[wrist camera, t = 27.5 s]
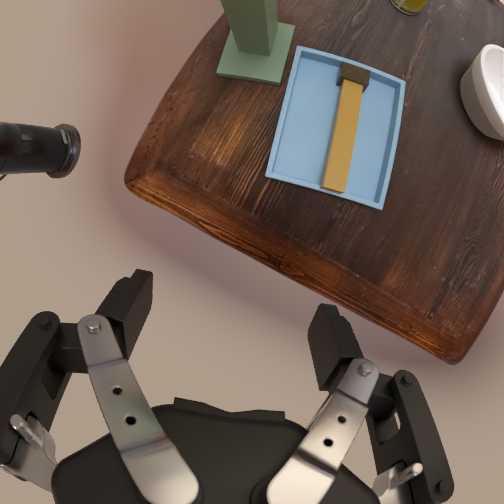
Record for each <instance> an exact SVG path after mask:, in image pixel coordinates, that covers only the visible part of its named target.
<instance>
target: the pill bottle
mask: <svg viewBox="0 0 504 504" xmlns="http://www.w3.org/2000/svg"><path fill="white" fill-rule="evenodd" d="M427 1H428V0H391V2H392V4H393V5H394V6H395V7H396V8H397V9H398V10H400V11H401V12H403V13H405V14H409V15H415V14H417V13H418V12H419V11H420V10H421V8H422V7H423V6H424V5H425V3H426V2H427Z"/></svg>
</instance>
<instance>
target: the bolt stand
mask: <svg viewBox="0 0 504 504" xmlns="http://www.w3.org/2000/svg"><path fill="white" fill-rule="evenodd" d="M221 3H222V5H223V8H224V11H225V14H226V17H227V19H228V22H229V25H230V28H231V30H230V33H229V36H228V39H227V42H226V45H225V47H224V50H223V53H222V56H221V59H220V62H219V66H218V69H217V72H216V73H217V75H218V76H221V77H229V78H236V79H243V80H250V81H256V82H261V83H267V84H272V85H277V86H280V85H281V81H282V77H283V73H284V69H285V66H286V62H287V58H288V54H289V50H290V46H291V43H292V39H293V35H294V31H295V25H289V24H284V23H278V13H277V0H221Z"/></svg>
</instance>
